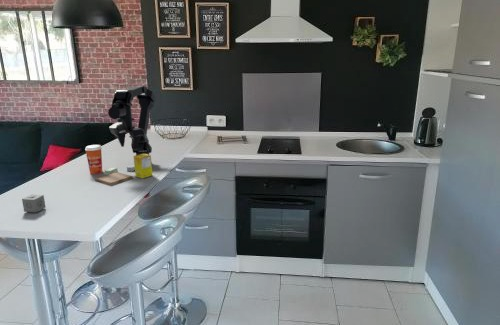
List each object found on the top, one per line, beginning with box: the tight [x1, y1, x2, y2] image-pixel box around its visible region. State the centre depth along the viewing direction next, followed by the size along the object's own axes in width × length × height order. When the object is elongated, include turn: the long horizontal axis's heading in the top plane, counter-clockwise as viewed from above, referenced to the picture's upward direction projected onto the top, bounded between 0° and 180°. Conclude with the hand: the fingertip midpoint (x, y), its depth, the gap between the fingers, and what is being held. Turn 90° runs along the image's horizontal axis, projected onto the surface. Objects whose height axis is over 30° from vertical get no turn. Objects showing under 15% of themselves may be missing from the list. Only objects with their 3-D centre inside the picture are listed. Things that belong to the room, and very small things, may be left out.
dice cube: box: [21, 193, 46, 213], centre depth 136 cm, size 5×5×5 cm
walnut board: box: [94, 171, 134, 186], centre depth 171 cm, size 12×12×2 cm
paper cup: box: [84, 144, 103, 175], centre depth 180 cm, size 8×8×14 cm
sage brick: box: [104, 167, 119, 176], centre depth 179 cm, size 6×3×3 cm, turn 165°
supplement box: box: [133, 154, 153, 180], centre depth 174 cm, size 6×6×11 cm
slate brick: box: [126, 163, 135, 172], centre depth 185 cm, size 6×3×3 cm, turn 165°
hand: (128, 147), depth 179 cm, fingers open, 9 cm apart
